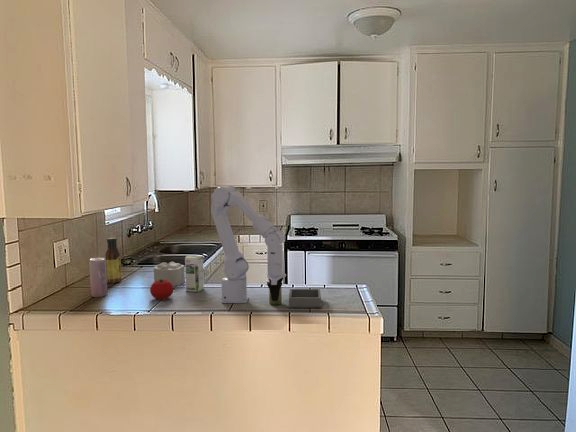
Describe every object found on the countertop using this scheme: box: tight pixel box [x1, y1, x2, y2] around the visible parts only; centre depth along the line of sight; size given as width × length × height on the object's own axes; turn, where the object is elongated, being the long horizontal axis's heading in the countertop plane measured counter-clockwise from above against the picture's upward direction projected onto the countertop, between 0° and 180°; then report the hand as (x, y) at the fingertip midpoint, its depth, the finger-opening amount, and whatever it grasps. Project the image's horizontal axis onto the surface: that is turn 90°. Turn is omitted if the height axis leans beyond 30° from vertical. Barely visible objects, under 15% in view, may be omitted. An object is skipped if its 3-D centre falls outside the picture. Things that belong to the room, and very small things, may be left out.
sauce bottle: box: [105, 237, 123, 284], centre depth 195 cm, size 7×6×20 cm
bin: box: [288, 288, 322, 310], centre depth 162 cm, size 12×12×4 cm
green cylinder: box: [268, 286, 283, 306], centre depth 162 cm, size 5×5×6 cm
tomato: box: [149, 279, 174, 301], centre depth 170 cm, size 9×9×8 cm
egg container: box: [153, 261, 186, 287], centre depth 194 cm, size 10×13×9 cm
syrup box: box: [184, 254, 205, 293], centre depth 181 cm, size 6×6×14 cm
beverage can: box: [88, 257, 108, 298], centre depth 174 cm, size 6×6×15 cm
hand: (275, 298), depth 162 cm, fingers closed on green cylinder, 5 cm apart
